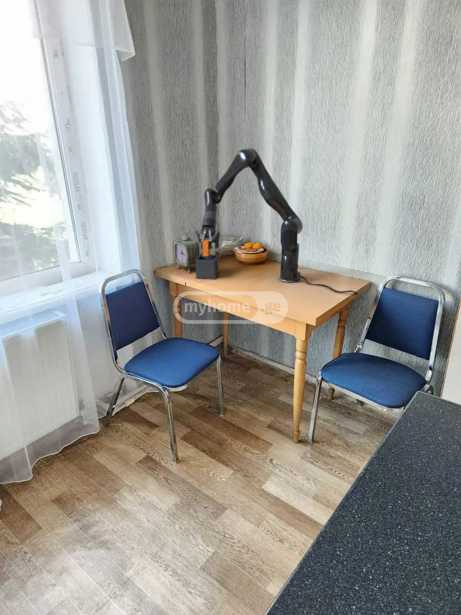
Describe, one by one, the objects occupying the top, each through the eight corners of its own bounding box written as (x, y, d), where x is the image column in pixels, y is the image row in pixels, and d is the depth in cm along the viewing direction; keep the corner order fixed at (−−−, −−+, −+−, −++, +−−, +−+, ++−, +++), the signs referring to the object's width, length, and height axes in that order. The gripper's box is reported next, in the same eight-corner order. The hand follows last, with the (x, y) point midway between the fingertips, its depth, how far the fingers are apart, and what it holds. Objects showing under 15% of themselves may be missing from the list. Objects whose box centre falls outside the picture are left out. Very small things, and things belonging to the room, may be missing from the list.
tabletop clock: (173, 268, 232) (171, 226, 221) (186, 265, 237) (184, 223, 227) (188, 274, 222) (186, 230, 212) (201, 270, 228) (199, 228, 217)
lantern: (214, 255, 255) (214, 234, 249) (222, 259, 247) (221, 237, 241) (200, 258, 250) (199, 236, 244) (207, 262, 242) (206, 239, 236)
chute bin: (218, 273, 224) (217, 255, 220) (214, 279, 215) (214, 260, 210) (200, 272, 225) (199, 254, 221) (196, 278, 216) (195, 260, 212)
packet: (210, 253, 217) (209, 239, 214) (208, 256, 213) (208, 241, 209) (205, 253, 218) (204, 239, 214) (203, 256, 213) (202, 241, 210)
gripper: (195, 216, 215) (191, 244, 209) (221, 217, 213) (217, 245, 207) (198, 224, 222) (194, 251, 216) (223, 225, 220) (219, 252, 214)
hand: (205, 248), depth 212 cm, fingers closed on packet, 3 cm apart
